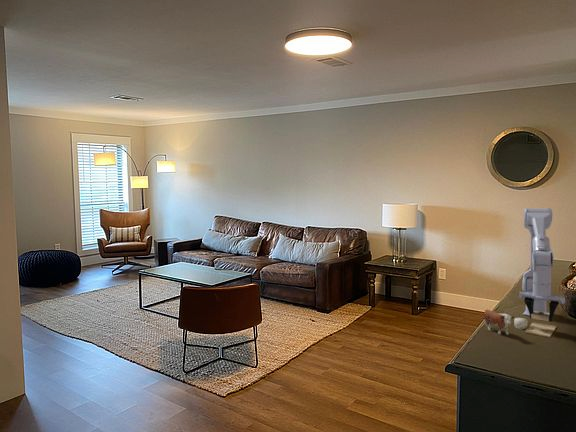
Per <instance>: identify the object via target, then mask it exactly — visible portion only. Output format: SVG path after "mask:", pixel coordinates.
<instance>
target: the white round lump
mask: <svg viewBox="0 0 576 432" xmlns="http://www.w3.org/2000/svg"><path fill="white" fill-rule="evenodd" d="M513 319H514V323H513V325H514V328H515V329H519V330H527V328H528V319H526V318H523V317H514V318H513Z"/></svg>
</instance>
